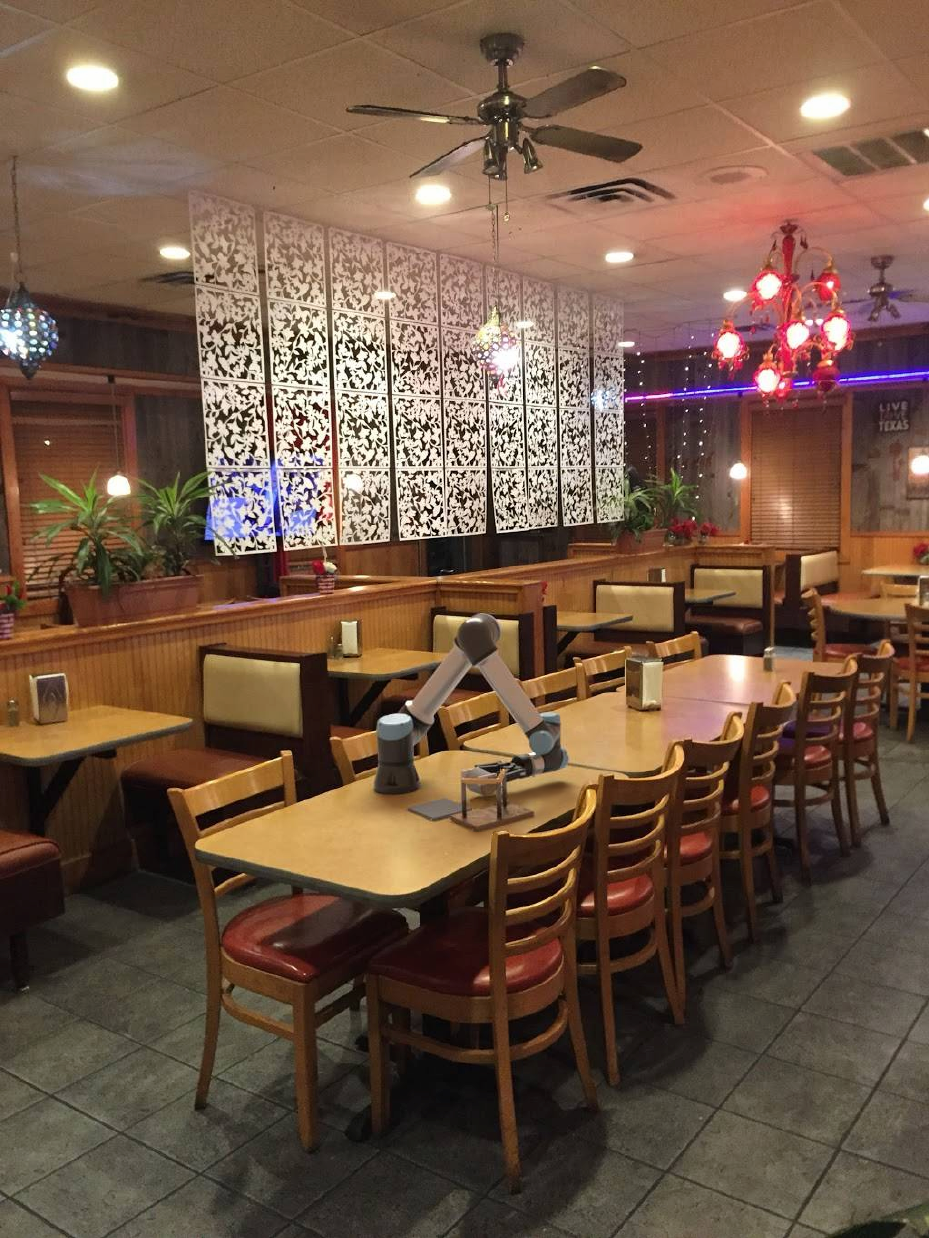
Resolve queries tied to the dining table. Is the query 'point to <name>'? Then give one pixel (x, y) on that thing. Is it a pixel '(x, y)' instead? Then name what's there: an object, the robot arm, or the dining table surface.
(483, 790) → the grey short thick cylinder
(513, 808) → the bent rail stand
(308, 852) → the dining table surface
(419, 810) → the rubber mat
